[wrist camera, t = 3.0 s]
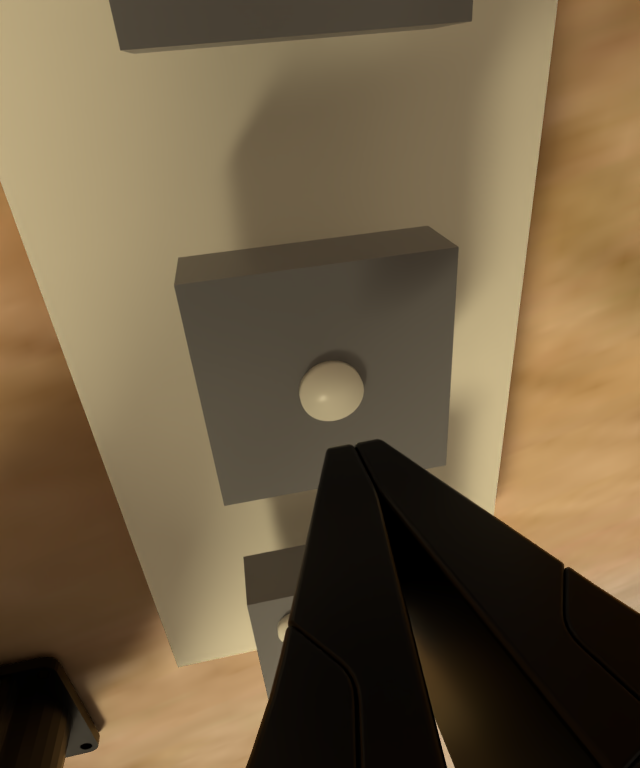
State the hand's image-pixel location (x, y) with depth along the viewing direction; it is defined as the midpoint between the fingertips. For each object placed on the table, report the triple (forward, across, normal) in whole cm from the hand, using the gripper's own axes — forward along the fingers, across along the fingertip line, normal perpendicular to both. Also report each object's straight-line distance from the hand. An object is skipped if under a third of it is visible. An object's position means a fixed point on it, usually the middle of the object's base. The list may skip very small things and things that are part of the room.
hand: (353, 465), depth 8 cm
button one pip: (+4, 0, 0) cm, 4 cm away
